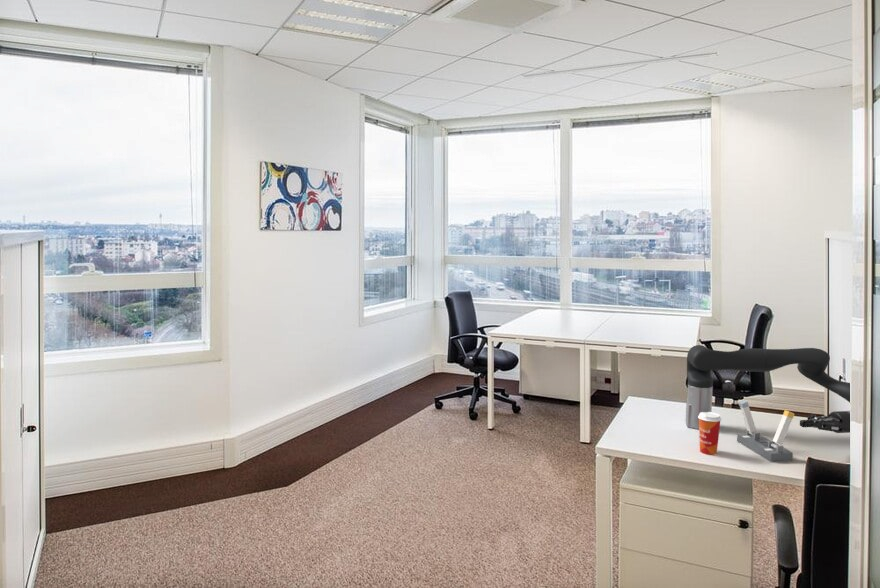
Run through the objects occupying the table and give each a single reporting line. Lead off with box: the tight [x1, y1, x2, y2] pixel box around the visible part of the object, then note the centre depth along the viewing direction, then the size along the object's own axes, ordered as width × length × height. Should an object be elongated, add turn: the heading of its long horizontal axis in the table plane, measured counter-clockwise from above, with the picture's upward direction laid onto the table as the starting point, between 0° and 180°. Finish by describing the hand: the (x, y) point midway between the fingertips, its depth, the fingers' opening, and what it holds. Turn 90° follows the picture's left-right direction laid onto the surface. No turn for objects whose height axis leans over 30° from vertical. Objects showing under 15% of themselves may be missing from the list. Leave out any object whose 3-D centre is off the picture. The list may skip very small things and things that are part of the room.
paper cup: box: [698, 411, 722, 456], centre depth 212 cm, size 8×8×14 cm
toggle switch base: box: [736, 428, 794, 463], centre depth 213 cm, size 8×20×5 cm, turn 5°
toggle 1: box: [738, 399, 757, 436], centre depth 218 cm, size 2×3×14 cm
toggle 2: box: [771, 409, 795, 449], centre depth 206 cm, size 2×3×14 cm
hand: (801, 423), depth 206 cm, fingers closed
